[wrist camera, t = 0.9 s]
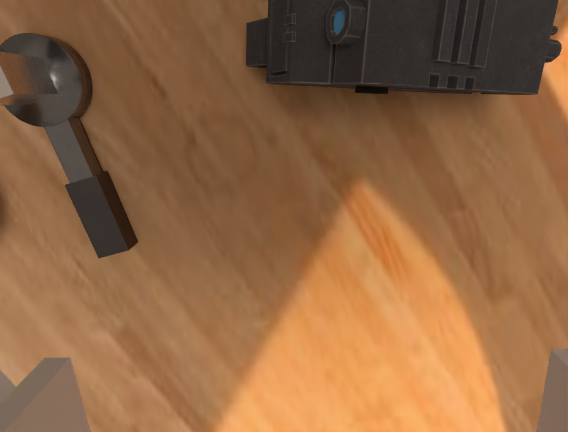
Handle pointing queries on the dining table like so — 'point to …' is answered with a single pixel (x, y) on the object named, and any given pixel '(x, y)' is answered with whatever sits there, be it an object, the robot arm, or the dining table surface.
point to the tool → (406, 44)
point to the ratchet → (64, 129)
